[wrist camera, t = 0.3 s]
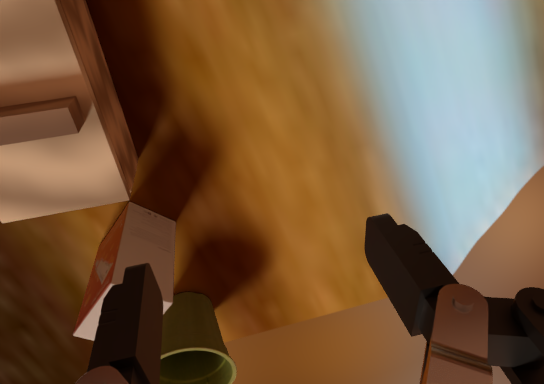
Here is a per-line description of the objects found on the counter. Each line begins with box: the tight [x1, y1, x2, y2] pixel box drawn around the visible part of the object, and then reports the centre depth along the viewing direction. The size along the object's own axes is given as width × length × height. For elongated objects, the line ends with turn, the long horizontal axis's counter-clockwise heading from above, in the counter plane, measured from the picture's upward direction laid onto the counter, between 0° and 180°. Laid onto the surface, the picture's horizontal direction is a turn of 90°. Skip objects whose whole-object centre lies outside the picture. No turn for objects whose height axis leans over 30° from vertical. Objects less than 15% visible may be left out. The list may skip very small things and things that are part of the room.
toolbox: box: [59, 0, 138, 193], centre depth 32 cm, size 18×11×7 cm, turn 5°
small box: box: [73, 202, 176, 341], centre depth 40 cm, size 8×6×13 cm
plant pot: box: [159, 292, 237, 384], centre depth 50 cm, size 12×12×11 cm
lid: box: [0, 0, 131, 223], centre depth 27 cm, size 18×11×4 cm, turn 5°
